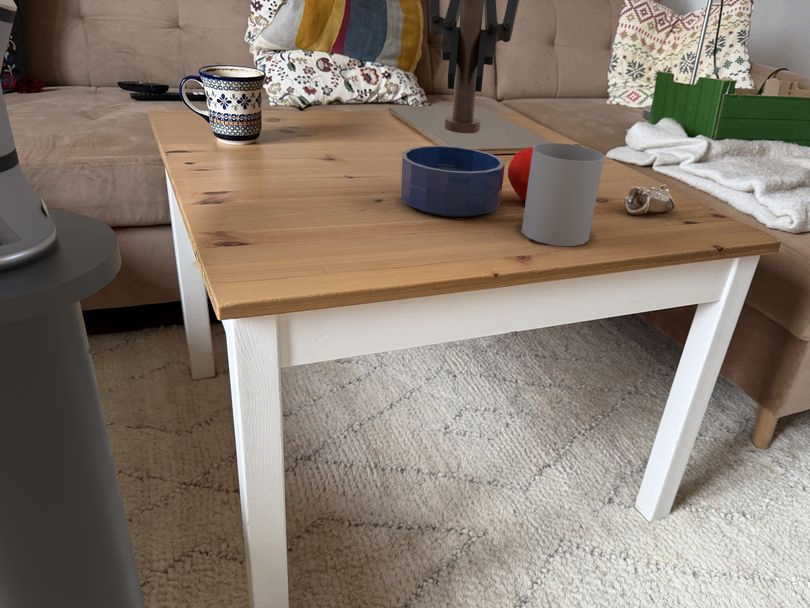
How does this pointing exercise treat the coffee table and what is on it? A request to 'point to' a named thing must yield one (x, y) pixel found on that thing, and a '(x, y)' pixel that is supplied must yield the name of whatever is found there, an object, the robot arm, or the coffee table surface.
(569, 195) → the cup
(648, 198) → the ornament
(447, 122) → the cylinder with round base
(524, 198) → the apple
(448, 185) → the bowl
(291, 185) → the coffee table surface
